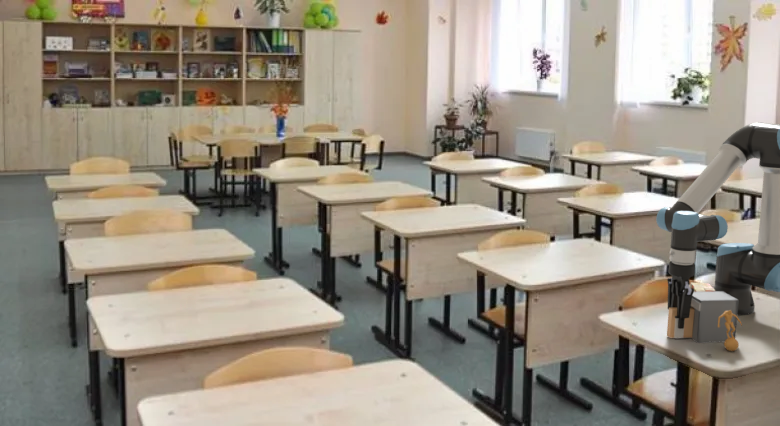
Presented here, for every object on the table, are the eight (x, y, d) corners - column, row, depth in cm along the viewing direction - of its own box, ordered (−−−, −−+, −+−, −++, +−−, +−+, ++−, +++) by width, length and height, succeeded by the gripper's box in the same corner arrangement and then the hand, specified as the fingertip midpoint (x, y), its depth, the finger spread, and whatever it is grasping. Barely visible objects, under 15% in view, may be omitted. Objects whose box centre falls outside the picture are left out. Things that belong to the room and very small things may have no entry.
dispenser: (718, 331, 268) (722, 291, 266) (734, 341, 259) (738, 300, 256) (681, 332, 267) (684, 291, 265) (696, 342, 257) (699, 300, 255)
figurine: (723, 354, 247) (726, 314, 245) (710, 347, 253) (713, 308, 251) (747, 351, 250) (750, 312, 248) (733, 345, 255) (737, 307, 253)
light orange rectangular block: (709, 334, 264) (712, 306, 262) (713, 337, 262) (715, 309, 260) (666, 335, 262) (669, 307, 261) (670, 338, 260) (672, 309, 258)
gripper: (659, 256, 264) (654, 328, 269) (681, 268, 249) (675, 344, 254) (682, 256, 265) (676, 327, 270) (706, 268, 250) (699, 344, 254)
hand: (676, 335), depth 262 cm, fingers closed on light orange rectangular block, 2 cm apart
